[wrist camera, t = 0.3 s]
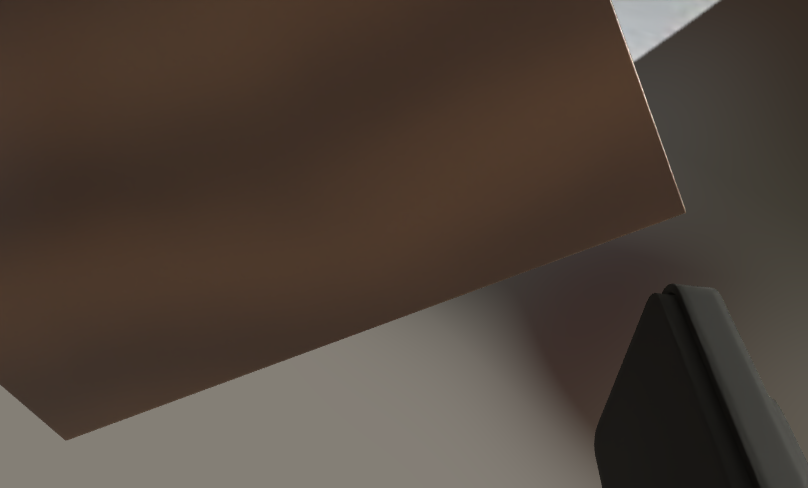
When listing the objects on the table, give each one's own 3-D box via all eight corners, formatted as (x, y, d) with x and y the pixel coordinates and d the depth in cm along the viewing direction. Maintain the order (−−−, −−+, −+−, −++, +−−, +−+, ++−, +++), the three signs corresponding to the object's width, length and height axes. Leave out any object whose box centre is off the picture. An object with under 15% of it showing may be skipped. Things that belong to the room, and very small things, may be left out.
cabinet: (7, -104, 42) (-355, 81, 22) (434, -385, 34) (444, -471, 15) (202, 154, 51) (65, 441, 32) (572, -23, 44) (687, 213, 24)
